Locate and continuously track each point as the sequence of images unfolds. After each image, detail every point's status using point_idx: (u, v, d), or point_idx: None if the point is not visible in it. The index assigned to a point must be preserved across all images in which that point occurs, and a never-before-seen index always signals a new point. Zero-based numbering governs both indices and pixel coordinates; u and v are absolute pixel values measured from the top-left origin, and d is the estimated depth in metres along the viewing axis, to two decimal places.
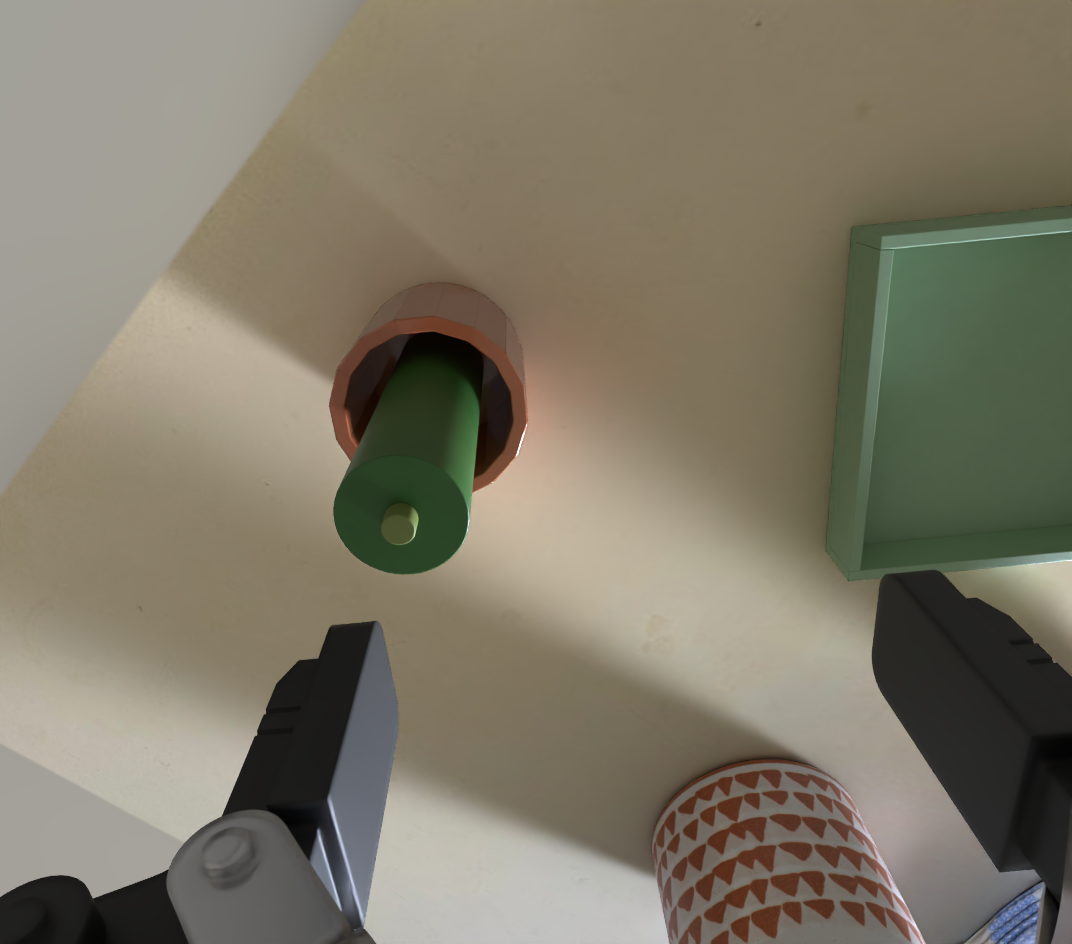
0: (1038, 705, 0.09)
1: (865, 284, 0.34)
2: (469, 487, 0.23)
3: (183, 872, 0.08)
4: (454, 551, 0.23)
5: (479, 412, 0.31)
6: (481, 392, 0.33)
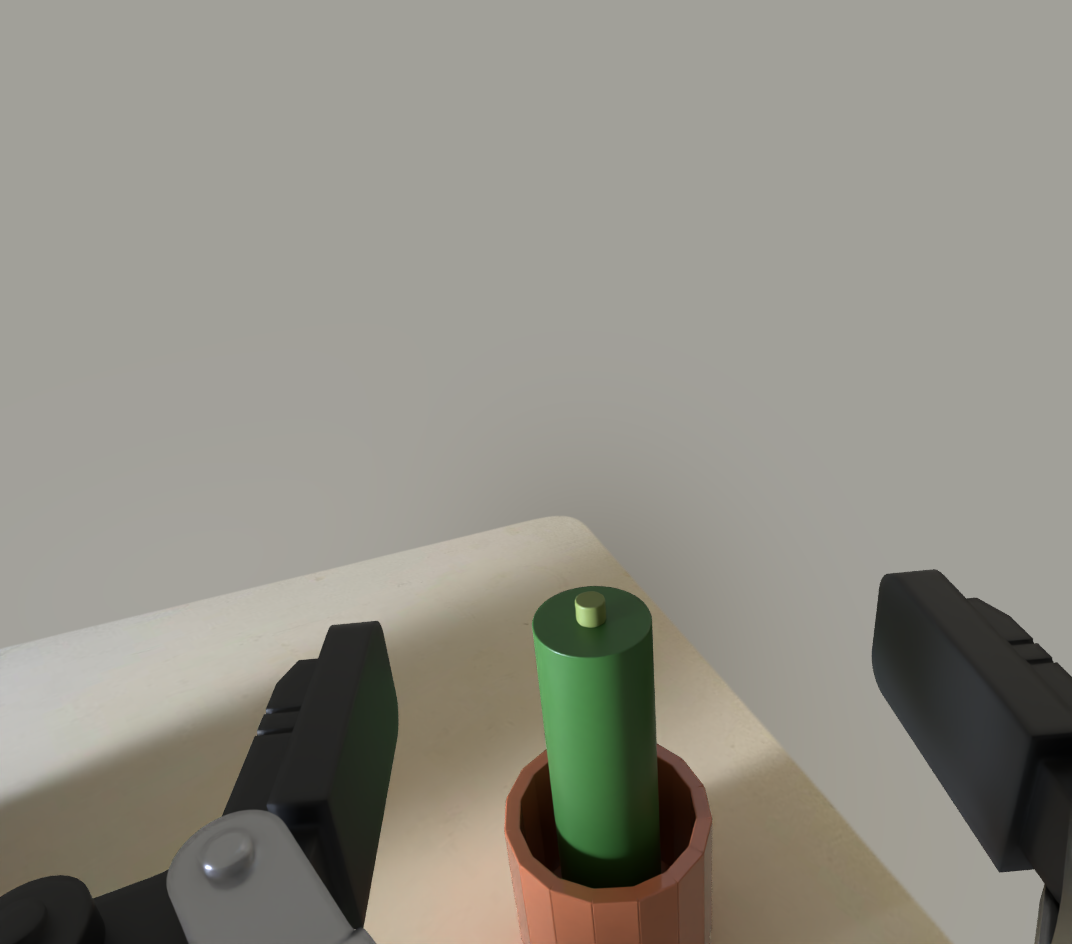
0: (1038, 705, 0.09)
1: None
2: (579, 686, 0.24)
3: (183, 872, 0.08)
4: (539, 637, 0.25)
5: (584, 853, 0.28)
6: None
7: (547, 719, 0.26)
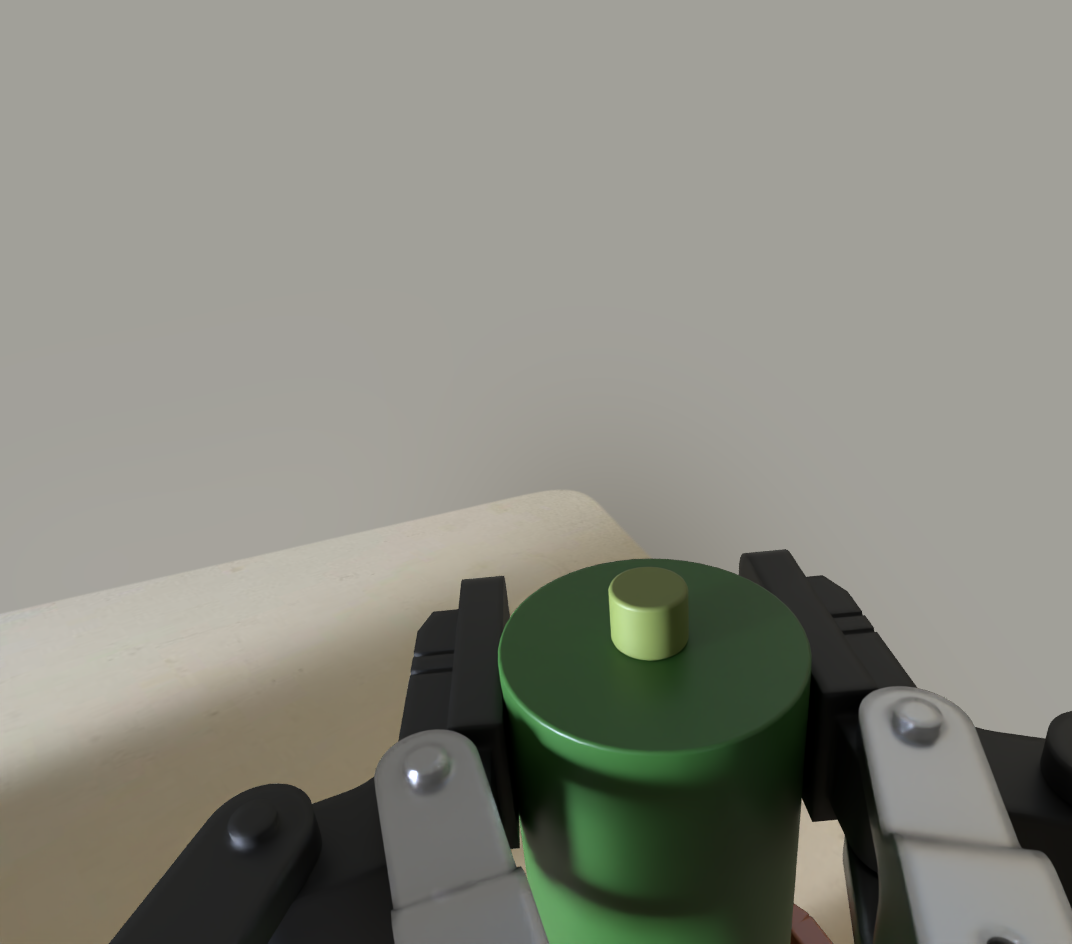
0: (837, 667, 0.10)
1: None
2: (624, 826, 0.09)
3: (389, 768, 0.09)
4: (513, 686, 0.09)
5: None
6: None
7: (535, 883, 0.11)
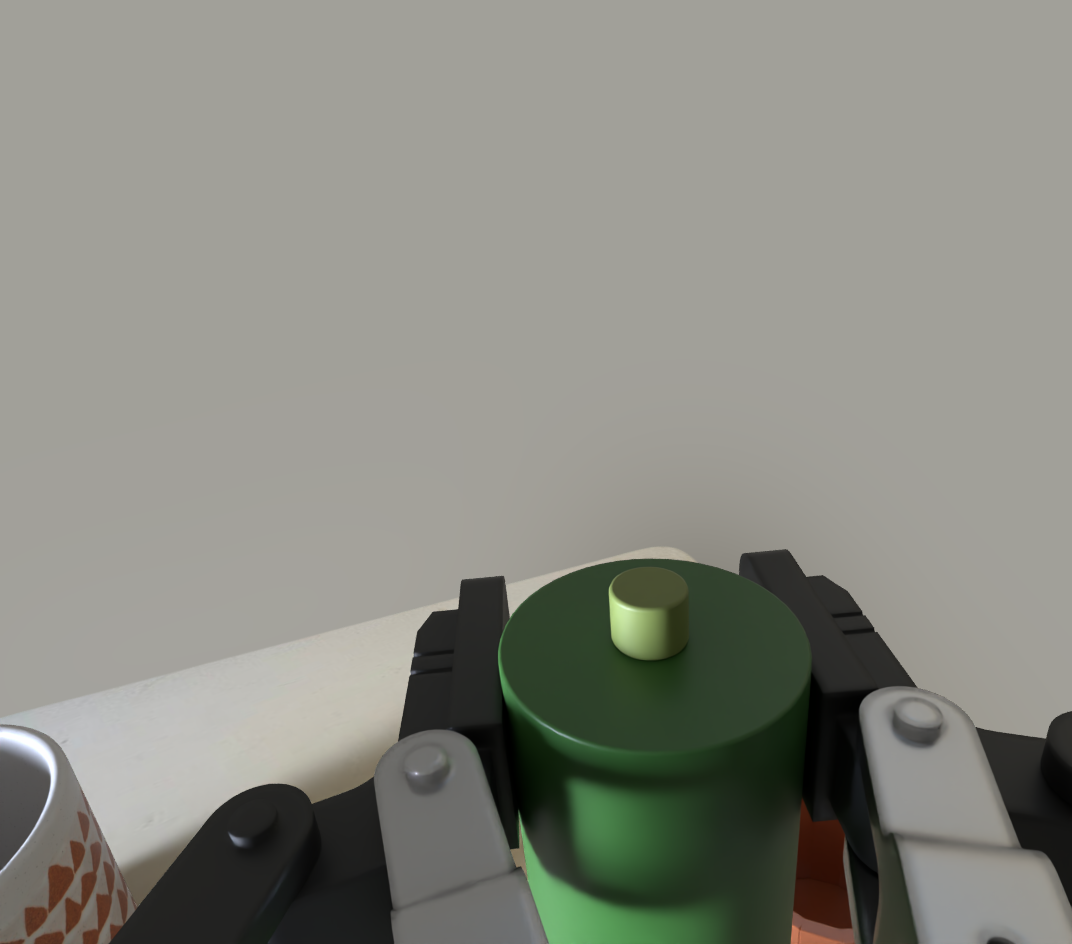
0: (838, 667, 0.10)
1: None
2: (624, 826, 0.09)
3: (389, 768, 0.09)
4: (514, 687, 0.09)
5: None
6: None
7: (536, 883, 0.11)
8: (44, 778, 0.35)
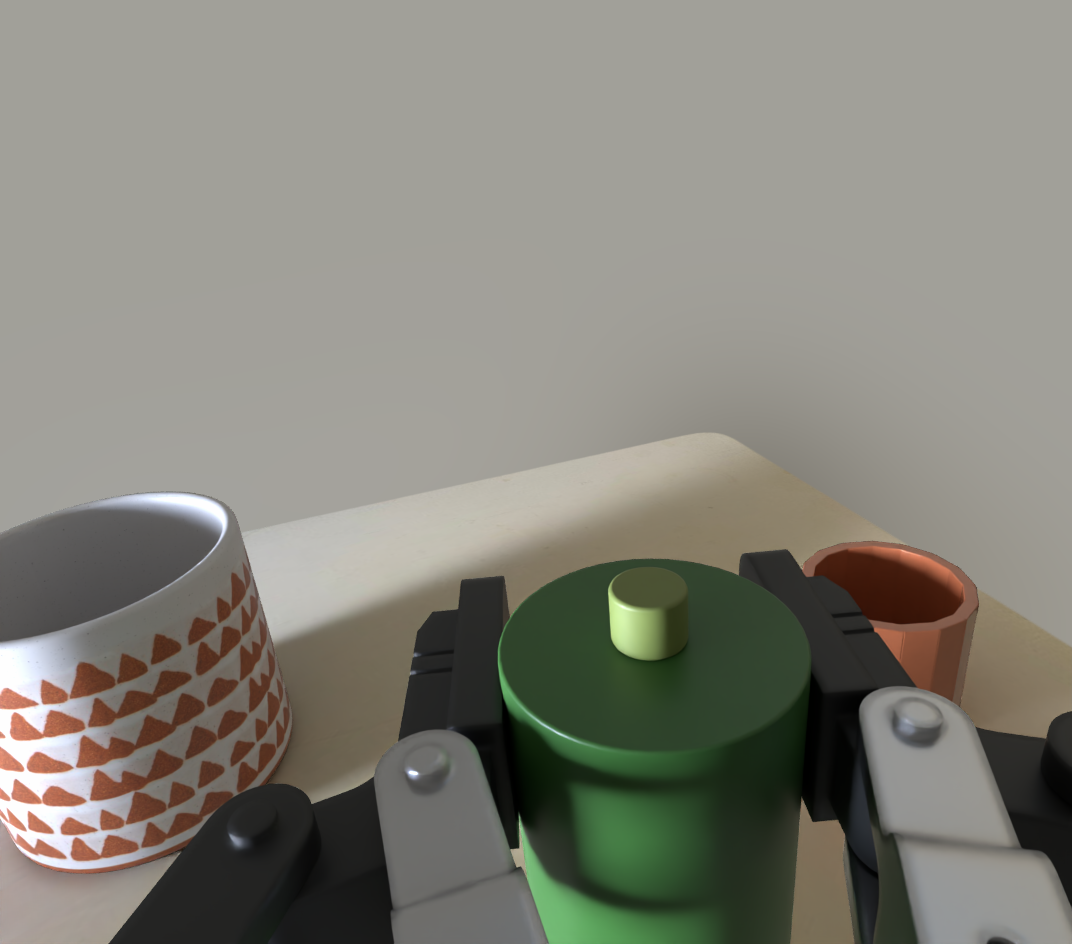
0: (838, 667, 0.10)
1: None
2: (623, 826, 0.09)
3: (388, 768, 0.09)
4: (513, 687, 0.09)
5: None
6: None
7: (535, 883, 0.11)
8: (202, 537, 0.41)
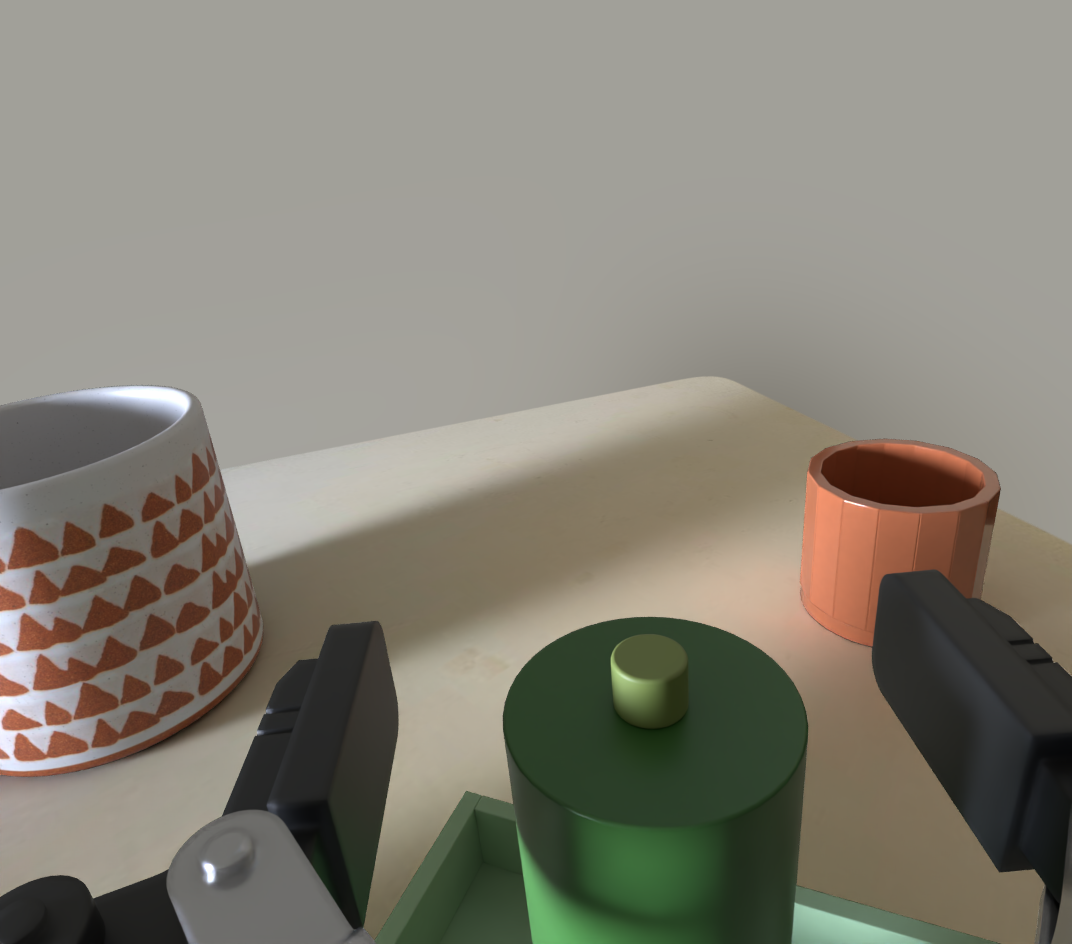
0: (1038, 705, 0.09)
1: None
2: (626, 896, 0.09)
3: (183, 872, 0.08)
4: (518, 755, 0.10)
5: None
6: None
7: (538, 938, 0.11)
8: None
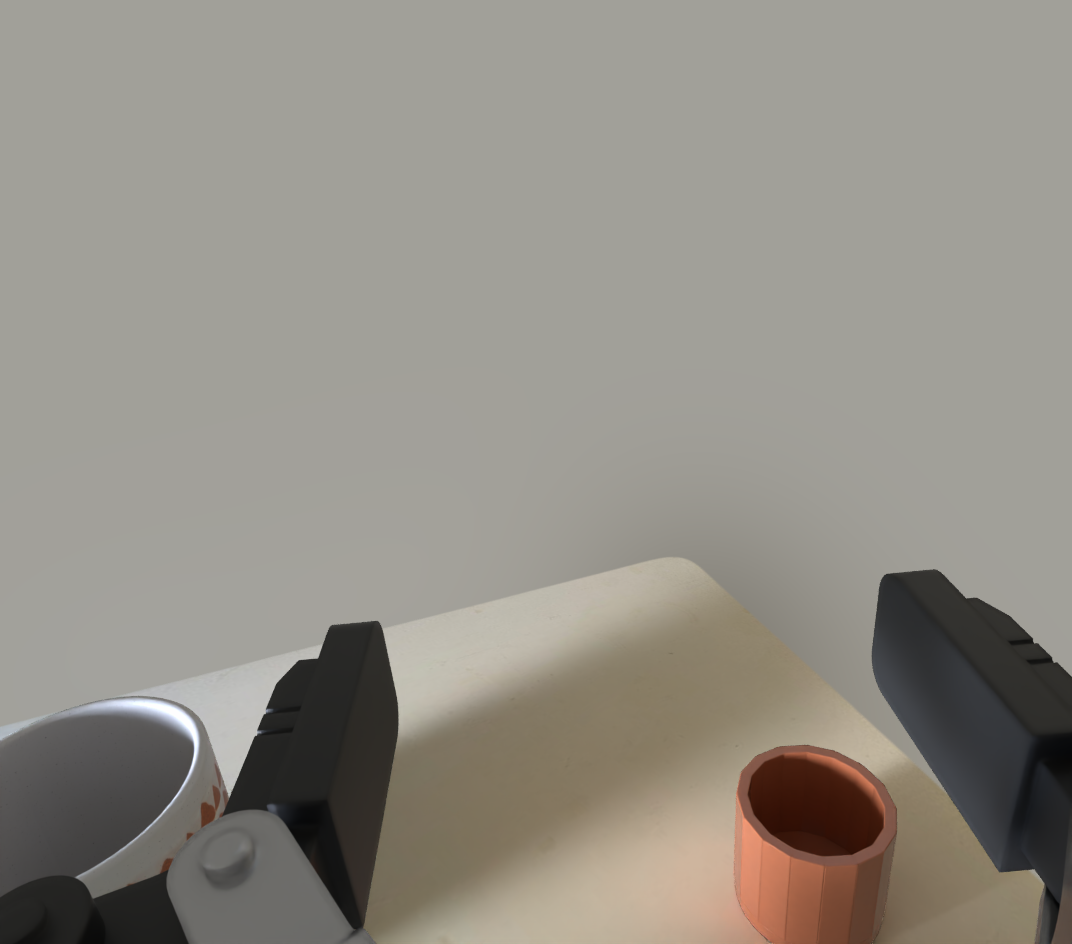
0: (1038, 705, 0.09)
1: None
2: None
3: (183, 872, 0.08)
4: None
5: None
6: None
7: None
8: (177, 740, 0.43)
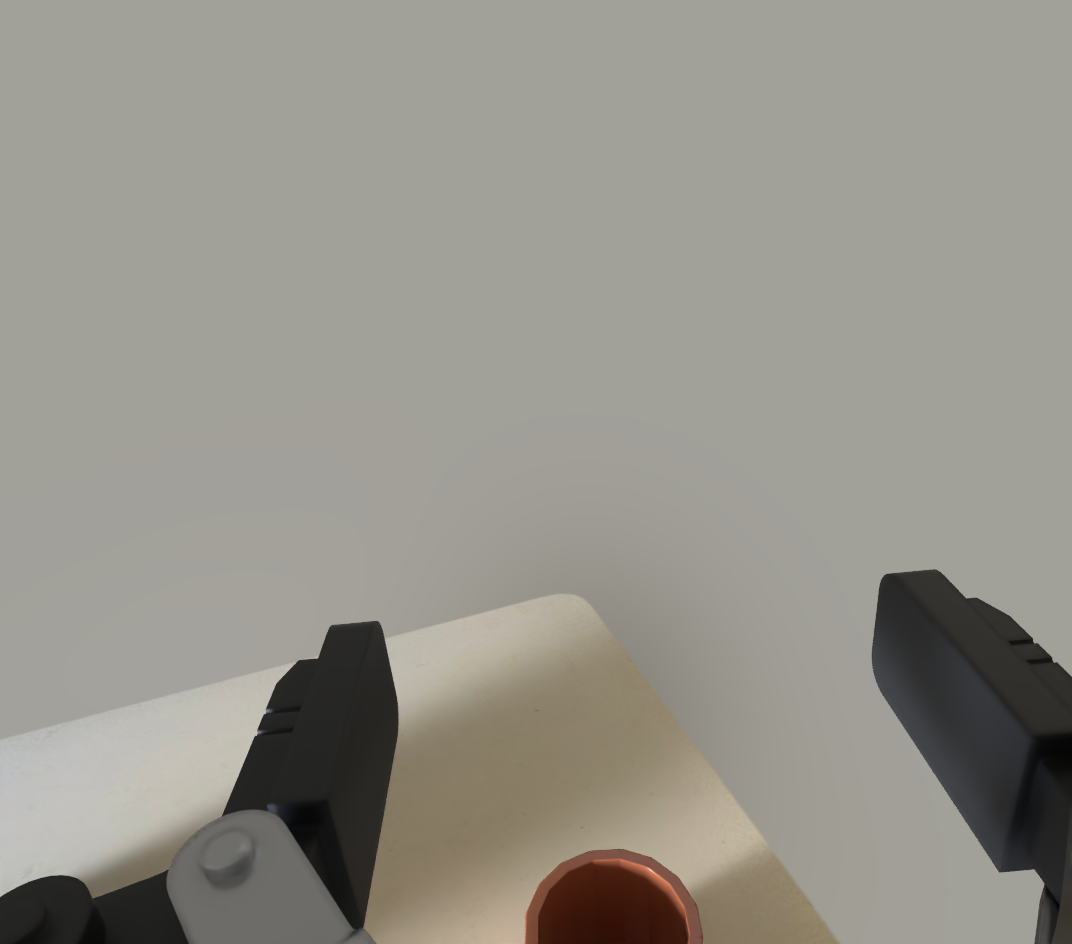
0: (1038, 705, 0.09)
1: None
2: None
3: (183, 872, 0.08)
4: None
5: None
6: None
7: None
8: None
